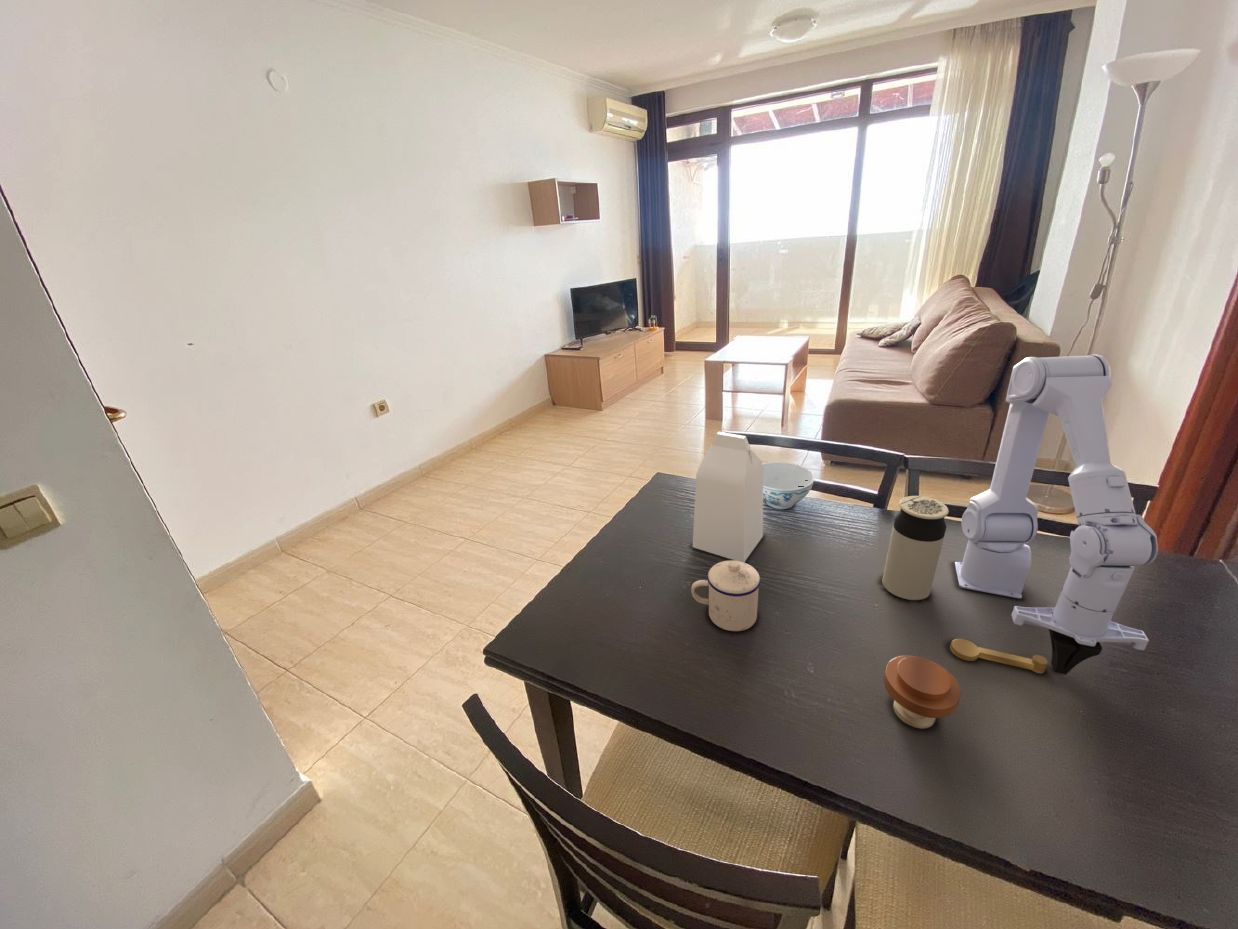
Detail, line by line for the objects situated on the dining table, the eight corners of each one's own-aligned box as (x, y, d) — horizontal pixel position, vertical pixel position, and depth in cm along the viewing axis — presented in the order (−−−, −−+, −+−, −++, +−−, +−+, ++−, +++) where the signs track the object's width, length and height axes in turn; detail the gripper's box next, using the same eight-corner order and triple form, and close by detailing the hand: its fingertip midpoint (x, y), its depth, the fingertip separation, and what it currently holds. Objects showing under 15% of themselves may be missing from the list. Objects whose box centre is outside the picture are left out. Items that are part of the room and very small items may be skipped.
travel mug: (940, 595, 92) (962, 512, 84) (904, 606, 90) (923, 522, 83) (906, 570, 99) (923, 491, 91) (872, 579, 97) (887, 499, 90)
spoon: (1040, 661, 78) (1044, 652, 77) (1047, 680, 75) (1051, 670, 74) (948, 640, 83) (951, 631, 82) (951, 657, 80) (954, 647, 79)
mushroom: (947, 697, 73) (958, 660, 70) (954, 751, 66) (967, 712, 63) (878, 678, 77) (886, 642, 74) (878, 728, 70) (887, 690, 66)
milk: (692, 547, 111) (691, 440, 100) (714, 522, 120) (715, 421, 109) (743, 563, 105) (748, 450, 94) (763, 536, 113) (769, 429, 102)
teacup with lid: (757, 600, 94) (760, 549, 89) (759, 635, 86) (762, 582, 81) (693, 595, 97) (692, 545, 92) (689, 629, 89) (688, 577, 84)
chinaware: (775, 524, 117) (777, 495, 114) (737, 497, 130) (738, 470, 126) (824, 507, 122) (828, 479, 119) (783, 483, 135) (785, 457, 131)
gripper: (1031, 604, 69) (1005, 674, 75) (1173, 631, 63) (1133, 705, 69) (1019, 573, 75) (996, 641, 80) (1148, 596, 69) (1113, 667, 75)
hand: (1058, 668), depth 75 cm, fingers closed
